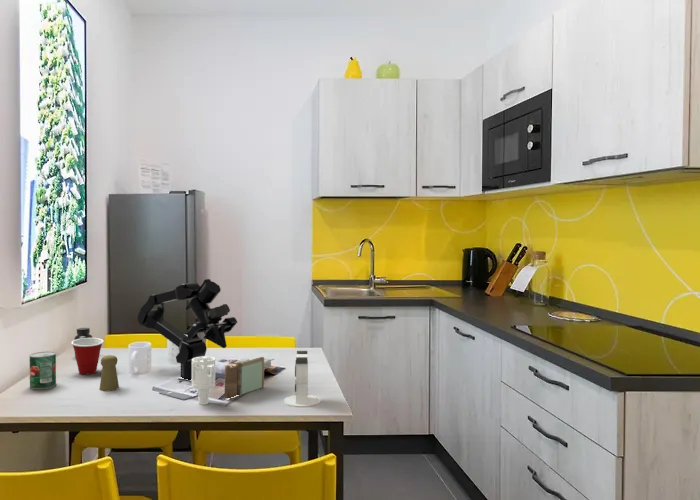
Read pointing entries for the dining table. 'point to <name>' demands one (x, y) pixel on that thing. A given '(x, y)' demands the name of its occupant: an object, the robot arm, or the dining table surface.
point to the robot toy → (266, 362)
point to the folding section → (252, 375)
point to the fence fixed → (232, 380)
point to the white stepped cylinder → (203, 377)
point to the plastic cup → (87, 354)
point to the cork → (109, 373)
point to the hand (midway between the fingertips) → (225, 347)
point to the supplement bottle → (83, 334)
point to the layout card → (176, 395)
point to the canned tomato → (42, 370)
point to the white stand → (301, 384)
